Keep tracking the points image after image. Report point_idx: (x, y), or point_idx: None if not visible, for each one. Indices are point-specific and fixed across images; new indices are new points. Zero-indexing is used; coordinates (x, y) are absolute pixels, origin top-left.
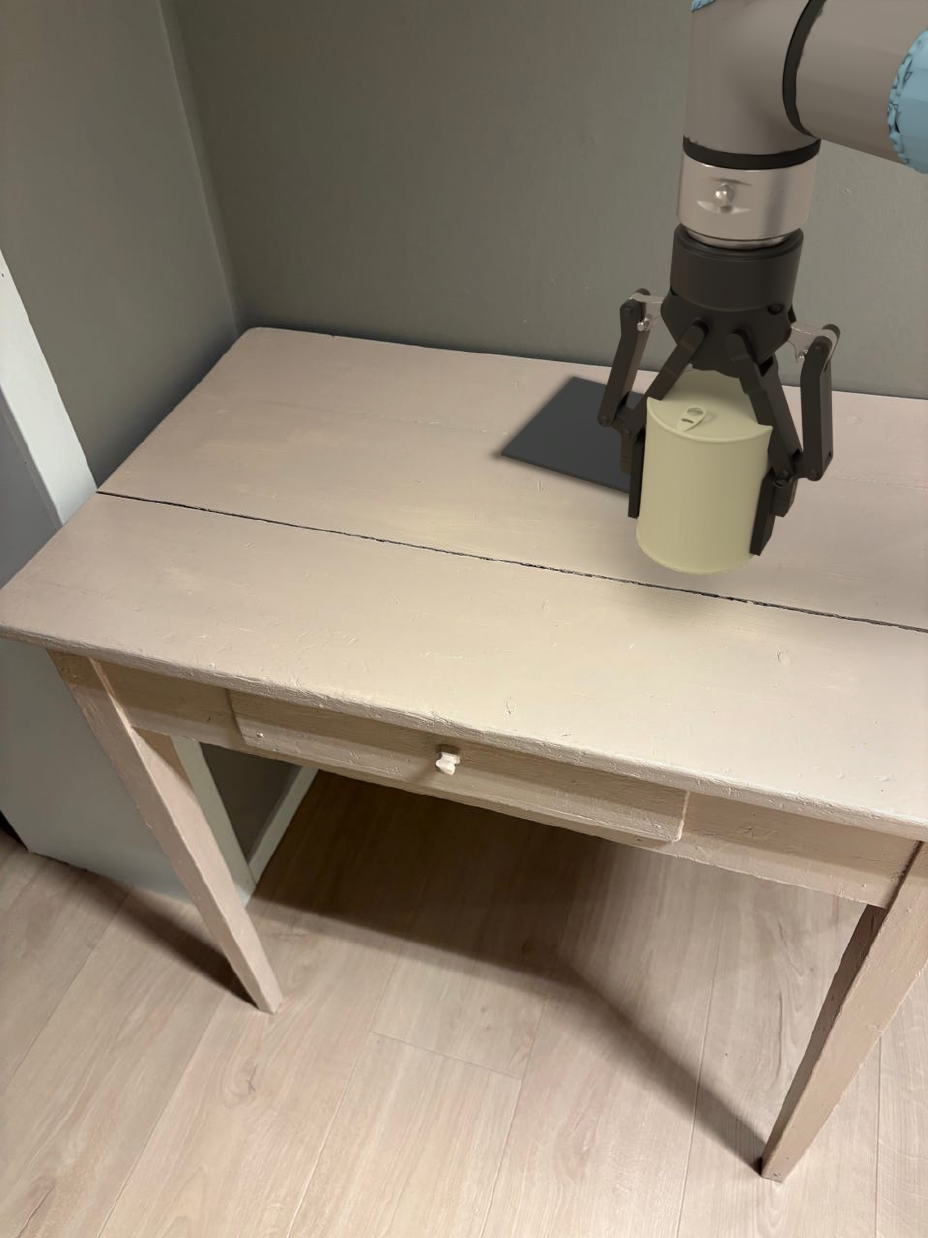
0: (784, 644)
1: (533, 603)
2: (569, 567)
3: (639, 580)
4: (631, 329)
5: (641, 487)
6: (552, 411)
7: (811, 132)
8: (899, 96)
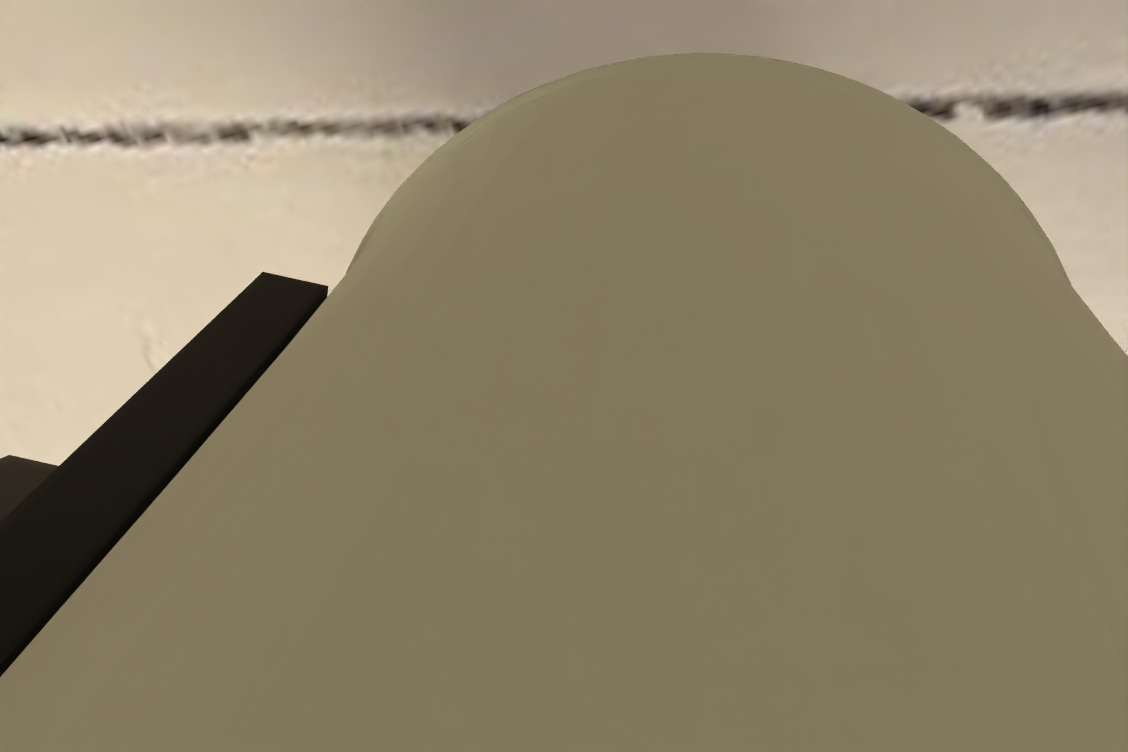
0: (1112, 328)
1: (109, 352)
2: (136, 104)
3: (453, 103)
4: None
5: None
6: None
7: None
8: None
